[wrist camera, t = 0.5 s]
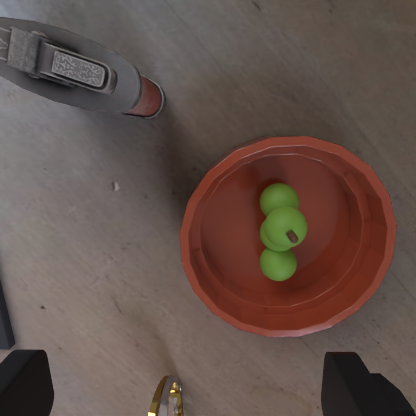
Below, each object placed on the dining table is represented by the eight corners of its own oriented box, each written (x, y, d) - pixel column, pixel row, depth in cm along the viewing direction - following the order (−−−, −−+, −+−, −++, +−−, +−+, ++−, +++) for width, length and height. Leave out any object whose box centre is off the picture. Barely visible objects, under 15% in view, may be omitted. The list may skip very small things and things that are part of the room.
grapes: (257, 180, 23) (271, 198, 17) (294, 179, 22) (321, 196, 17) (257, 271, 24) (270, 315, 19) (291, 270, 24) (315, 315, 18)
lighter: (55, 93, 22) (-73, 63, 12) (63, 45, 21) (-67, -28, 11) (158, 128, 22) (113, 125, 13) (171, 82, 21) (132, 42, 12)
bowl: (181, 139, 22) (173, 141, 18) (371, 131, 22) (409, 131, 18) (191, 303, 26) (186, 338, 22) (355, 301, 25) (383, 335, 21)
